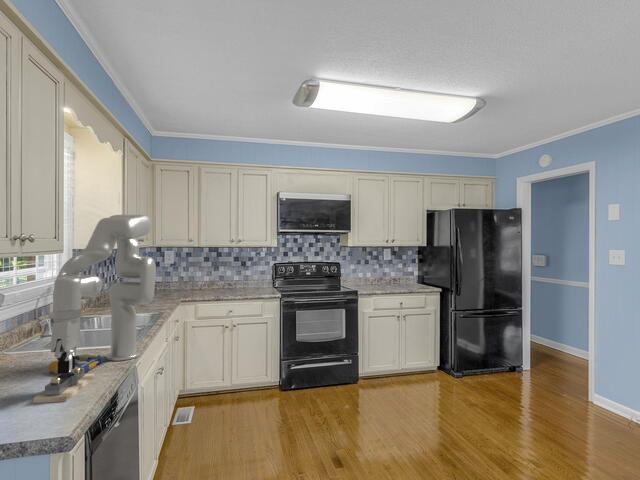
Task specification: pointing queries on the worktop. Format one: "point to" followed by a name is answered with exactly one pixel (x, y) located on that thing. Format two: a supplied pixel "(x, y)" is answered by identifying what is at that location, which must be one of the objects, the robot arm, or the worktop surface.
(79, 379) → the ring socket base plate
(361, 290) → the worktop surface
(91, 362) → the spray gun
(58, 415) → the worktop surface
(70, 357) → the light bulb
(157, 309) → the worktop surface
